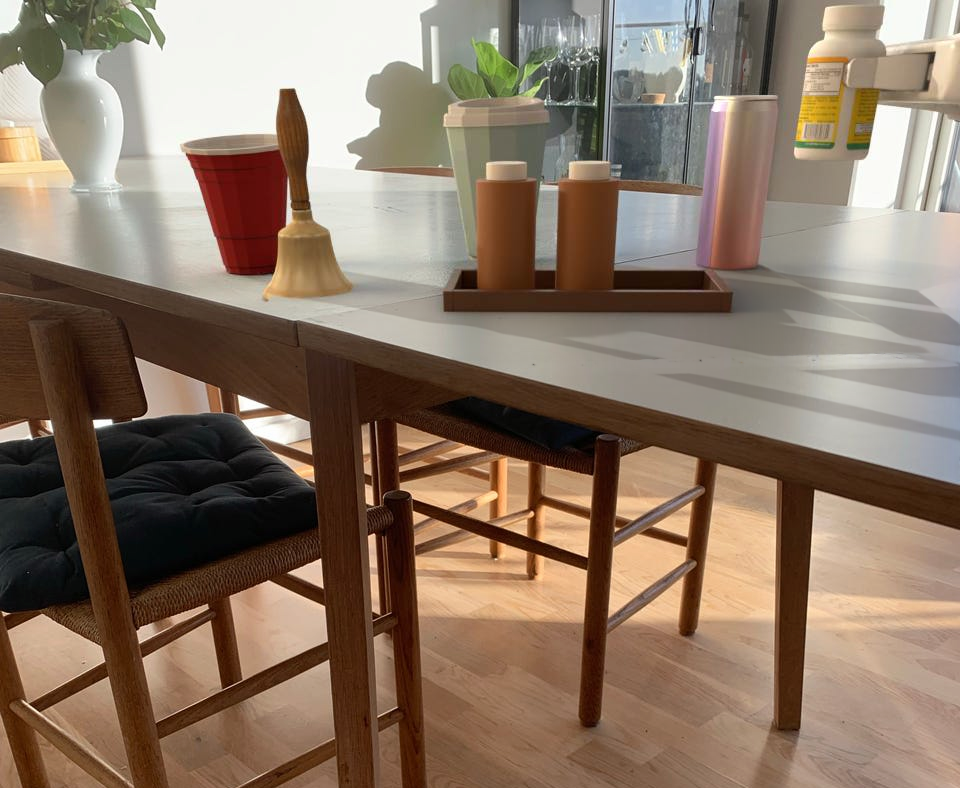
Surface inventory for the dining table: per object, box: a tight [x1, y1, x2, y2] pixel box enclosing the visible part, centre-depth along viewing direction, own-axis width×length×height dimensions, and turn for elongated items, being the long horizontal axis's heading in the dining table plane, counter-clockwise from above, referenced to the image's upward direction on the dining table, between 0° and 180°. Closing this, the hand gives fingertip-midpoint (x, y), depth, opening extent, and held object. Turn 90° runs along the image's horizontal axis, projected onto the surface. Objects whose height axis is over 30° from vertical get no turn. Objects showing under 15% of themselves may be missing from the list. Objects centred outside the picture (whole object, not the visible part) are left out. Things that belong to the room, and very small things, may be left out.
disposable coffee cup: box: [442, 96, 551, 262], centre depth 96 cm, size 11×11×15 cm
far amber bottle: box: [476, 161, 537, 290], centre depth 77 cm, size 5×5×10 cm
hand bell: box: [262, 87, 356, 301], centre depth 80 cm, size 8×8×16 cm
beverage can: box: [695, 94, 779, 272], centre depth 89 cm, size 6×6×15 cm
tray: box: [442, 268, 734, 314], centre depth 79 cm, size 23×11×2 cm, turn 87°
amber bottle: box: [555, 160, 621, 290], centre depth 76 cm, size 5×5×10 cm
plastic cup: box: [179, 133, 289, 275], centre depth 93 cm, size 11×11×12 cm
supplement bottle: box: [793, 4, 887, 162], centre depth 69 cm, size 5×5×10 cm
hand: (831, 74), depth 68 cm, fingers closed on supplement bottle, 5 cm apart
